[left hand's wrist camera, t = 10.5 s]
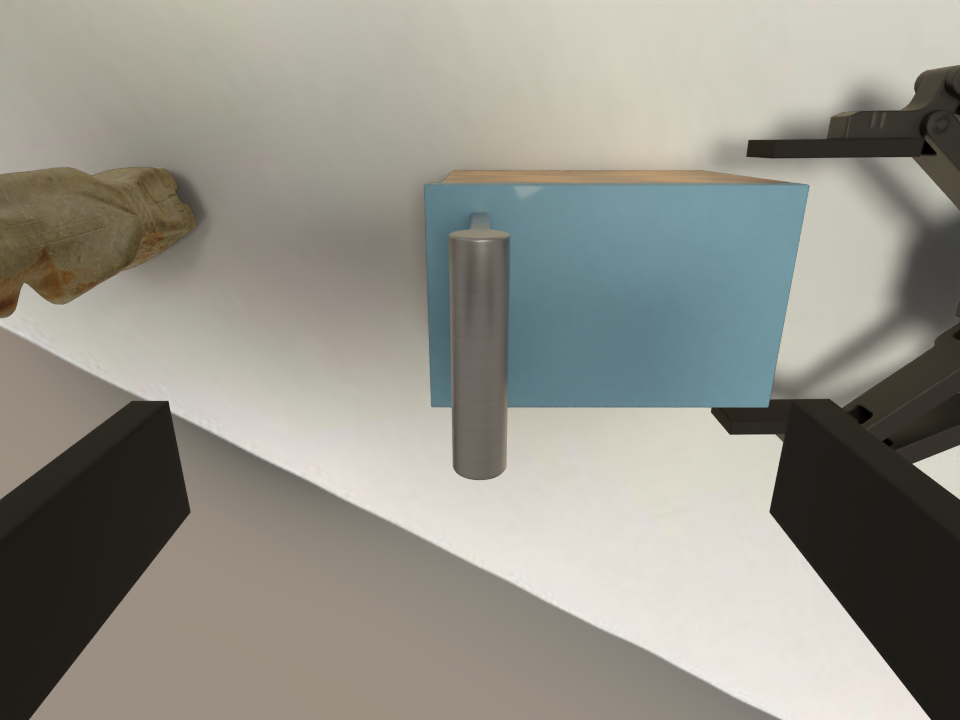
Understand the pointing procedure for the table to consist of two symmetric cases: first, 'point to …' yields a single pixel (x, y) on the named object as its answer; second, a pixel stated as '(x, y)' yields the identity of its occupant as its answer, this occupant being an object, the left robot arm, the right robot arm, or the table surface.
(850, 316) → the table surface
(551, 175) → the chest
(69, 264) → the sculpture
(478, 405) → the lid
